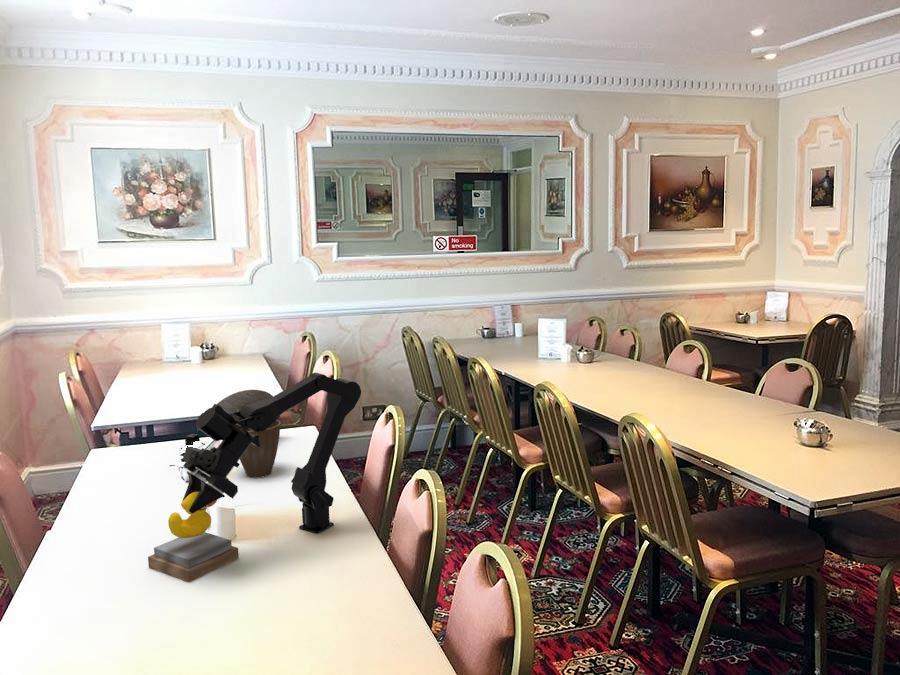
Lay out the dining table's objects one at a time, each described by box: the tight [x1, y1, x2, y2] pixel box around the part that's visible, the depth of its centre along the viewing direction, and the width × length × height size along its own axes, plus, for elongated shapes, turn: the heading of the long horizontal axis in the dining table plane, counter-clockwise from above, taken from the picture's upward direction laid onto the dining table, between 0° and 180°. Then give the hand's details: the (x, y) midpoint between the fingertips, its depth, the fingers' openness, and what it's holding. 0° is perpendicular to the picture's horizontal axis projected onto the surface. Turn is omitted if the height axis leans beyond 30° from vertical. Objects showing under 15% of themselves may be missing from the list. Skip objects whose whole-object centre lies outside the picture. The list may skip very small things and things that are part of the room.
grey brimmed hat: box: [216, 389, 273, 414], centre depth 263 cm, size 25×18×25 cm
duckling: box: [168, 492, 218, 538], centre depth 173 cm, size 11×5×10 cm, turn 126°
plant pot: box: [234, 419, 281, 478], centre depth 235 cm, size 15×15×16 cm
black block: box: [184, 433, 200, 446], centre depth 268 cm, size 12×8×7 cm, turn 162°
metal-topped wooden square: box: [147, 531, 240, 583], centre depth 174 cm, size 14×14×4 cm
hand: (186, 509), depth 171 cm, fingers closed on duckling, 4 cm apart
